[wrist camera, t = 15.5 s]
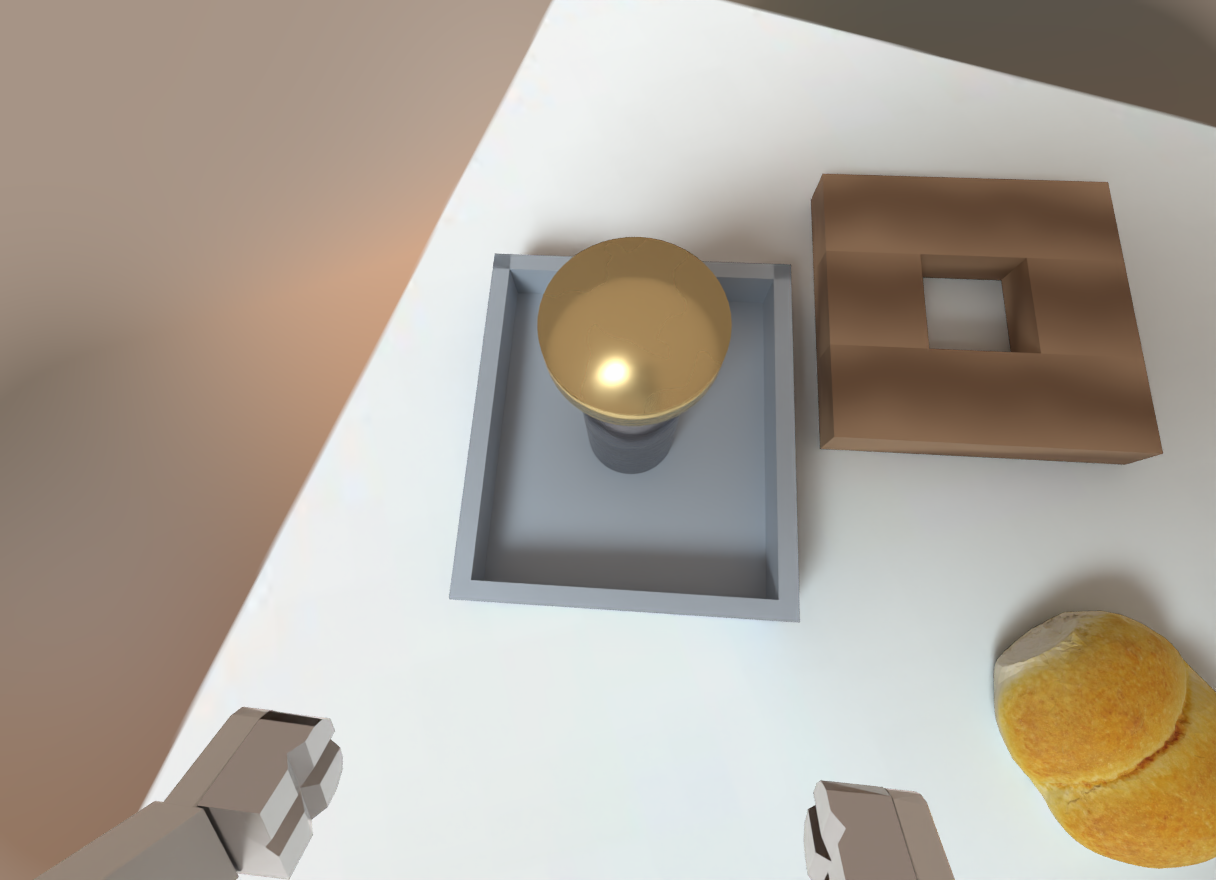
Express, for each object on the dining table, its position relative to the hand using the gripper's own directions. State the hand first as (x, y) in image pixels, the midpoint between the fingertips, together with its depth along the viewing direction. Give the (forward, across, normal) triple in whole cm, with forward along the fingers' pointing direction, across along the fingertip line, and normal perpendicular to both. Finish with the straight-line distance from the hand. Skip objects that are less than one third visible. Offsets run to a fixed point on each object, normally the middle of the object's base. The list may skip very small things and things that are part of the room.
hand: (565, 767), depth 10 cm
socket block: (+25, -16, -1) cm, 29 cm away
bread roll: (+12, -20, +12) cm, 27 cm away
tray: (+19, 0, +4) cm, 19 cm away
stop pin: (+19, 0, +3) cm, 19 cm away
